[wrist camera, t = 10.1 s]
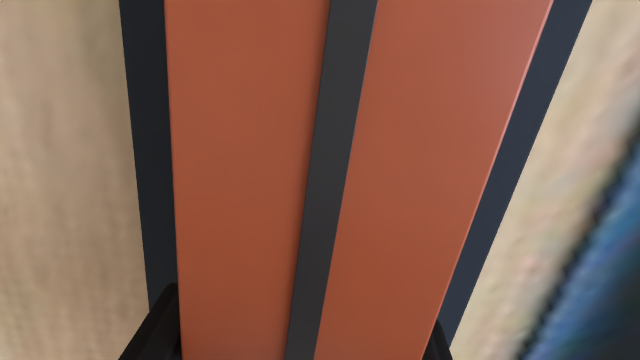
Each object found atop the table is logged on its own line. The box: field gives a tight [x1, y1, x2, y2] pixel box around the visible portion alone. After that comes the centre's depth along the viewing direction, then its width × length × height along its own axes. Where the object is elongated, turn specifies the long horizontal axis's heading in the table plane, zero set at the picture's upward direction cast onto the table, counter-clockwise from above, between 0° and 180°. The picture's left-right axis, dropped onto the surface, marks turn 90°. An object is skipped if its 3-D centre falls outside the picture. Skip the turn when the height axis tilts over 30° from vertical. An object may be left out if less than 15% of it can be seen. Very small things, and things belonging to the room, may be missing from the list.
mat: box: [119, 0, 592, 347], centre depth 12 cm, size 26×11×1 cm, turn 172°
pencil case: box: [164, 0, 554, 360], centre depth 9 cm, size 19×4×4 cm, turn 172°
